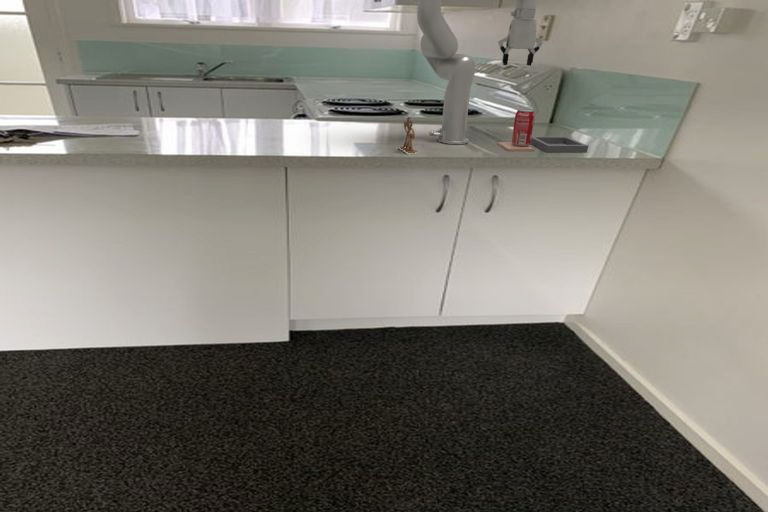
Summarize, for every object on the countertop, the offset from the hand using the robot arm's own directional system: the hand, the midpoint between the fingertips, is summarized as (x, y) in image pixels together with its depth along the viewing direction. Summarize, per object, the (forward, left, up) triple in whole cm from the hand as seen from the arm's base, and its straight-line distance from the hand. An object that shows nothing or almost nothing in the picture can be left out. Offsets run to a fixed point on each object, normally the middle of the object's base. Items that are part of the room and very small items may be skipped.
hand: (516, 65), depth 166 cm
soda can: (-1, -19, -27) cm, 33 cm away
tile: (-4, -19, -28) cm, 34 cm away
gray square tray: (+13, -19, -28) cm, 37 cm away
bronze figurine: (-47, -26, -28) cm, 60 cm away
